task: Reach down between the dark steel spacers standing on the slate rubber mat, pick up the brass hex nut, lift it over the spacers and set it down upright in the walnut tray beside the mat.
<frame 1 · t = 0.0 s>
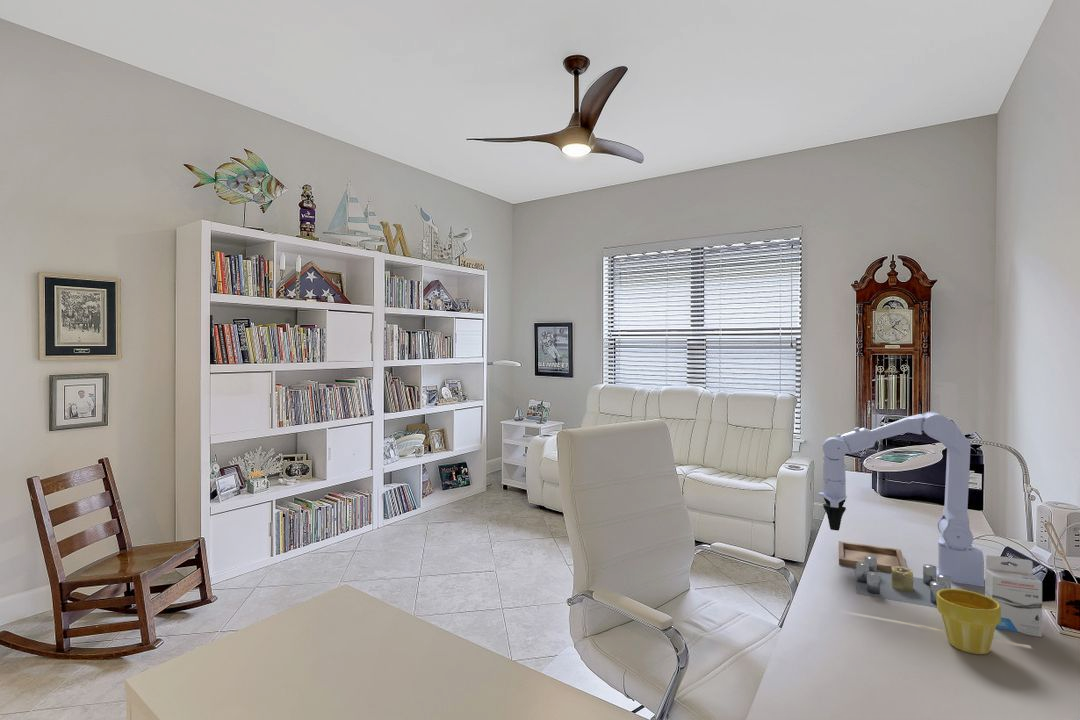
hand: (834, 526, 156), 10 cm above the table, tool pointing down, fingers open, 7 cm apart
mat: (902, 589, 137), on the table
ink box: (1012, 629, 117), on the table
nut: (902, 578, 137), on the mat
spacers: (902, 578, 137), on the mat
tray: (870, 561, 156), on the table
plant pot: (968, 646, 111), on the table
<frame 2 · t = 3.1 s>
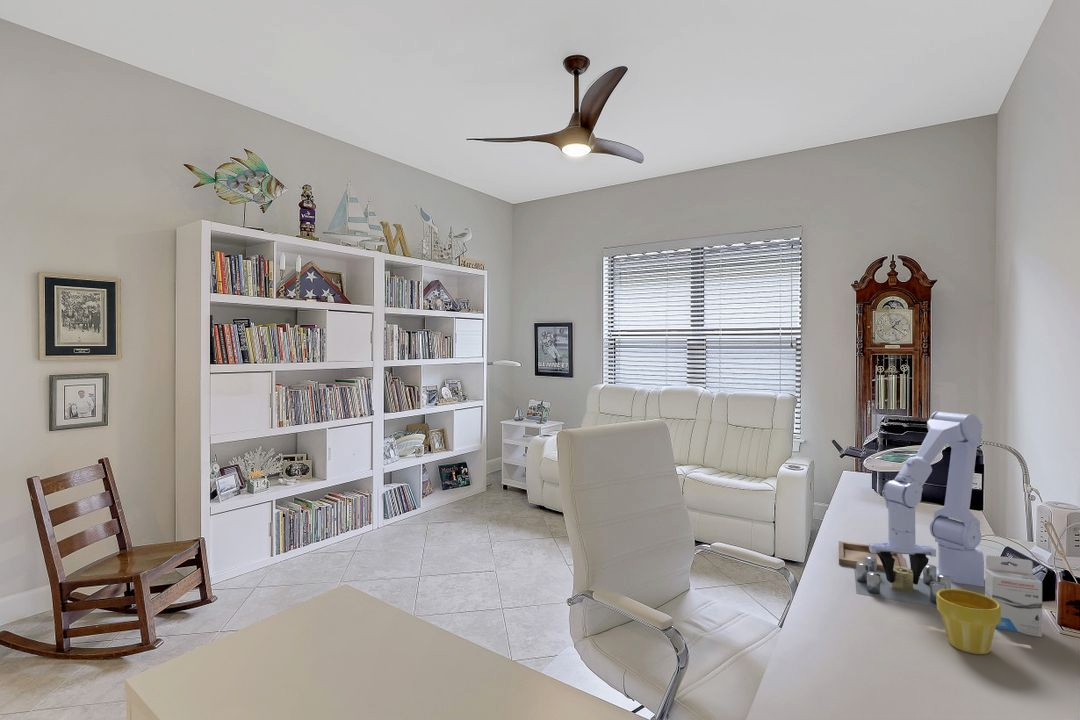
hand: (902, 582, 137), 2 cm above the table, tool pointing down, fingers closed on nut, 5 cm apart
nut: (902, 578, 137), on the mat, touching gripper
everything else where it was.
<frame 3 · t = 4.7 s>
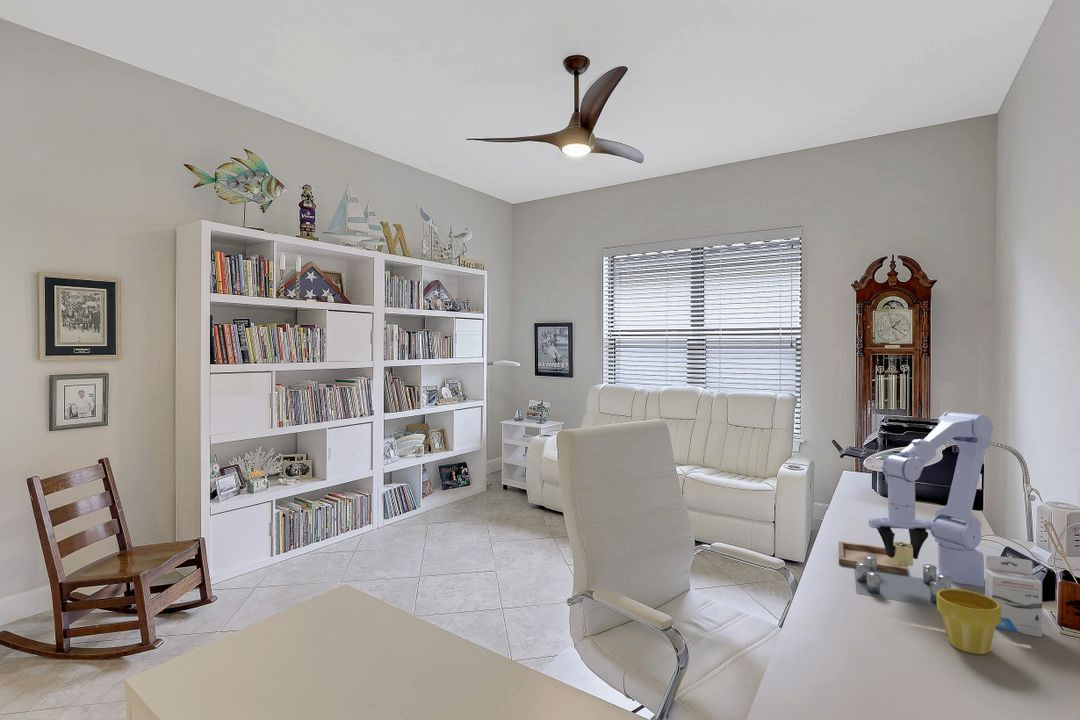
hand: (901, 556, 137), 8 cm above the table, tool pointing down, fingers closed on nut, 5 cm apart
nut: (901, 553, 137), point 9 cm above the table, touching gripper
everything else where it was.
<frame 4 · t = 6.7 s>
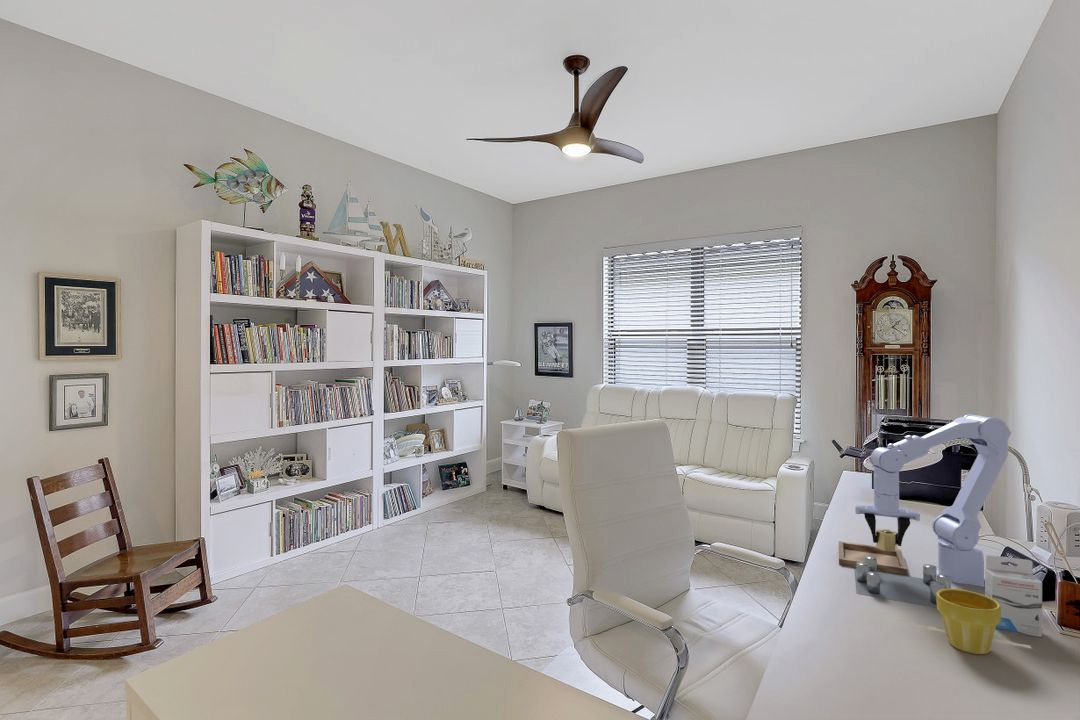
hand: (886, 543, 145), 9 cm above the table, tool pointing down, fingers closed on nut, 5 cm apart
nut: (886, 540, 145), point 10 cm above the table, touching gripper
everything else where it was.
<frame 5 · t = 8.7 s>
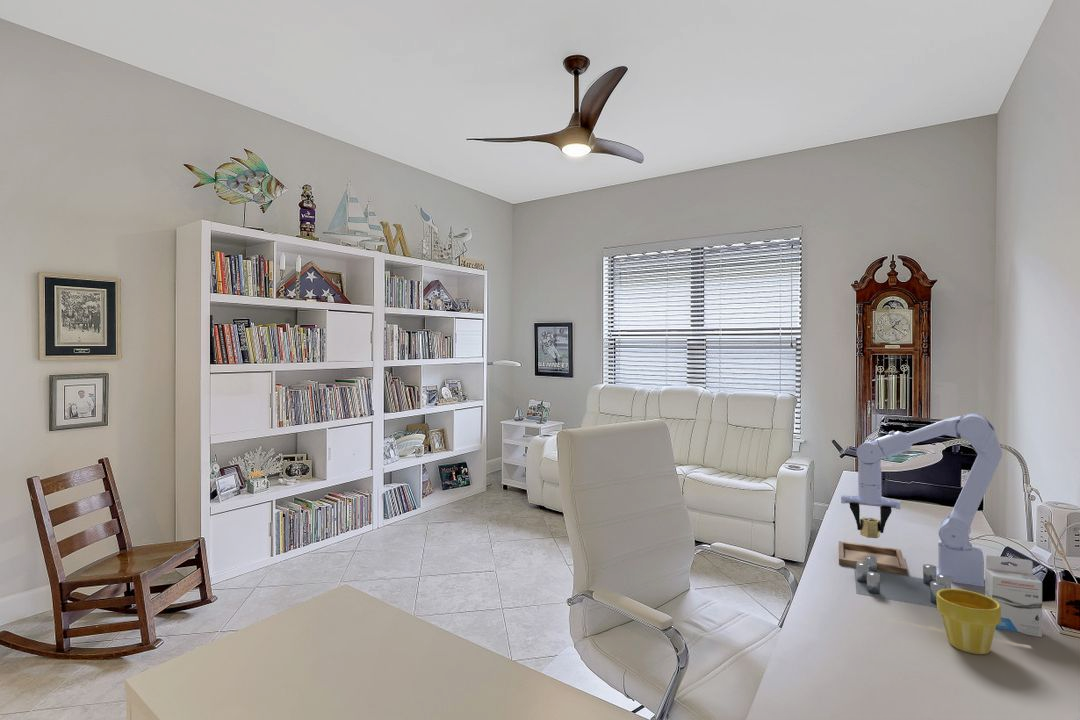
hand: (870, 530, 155), 9 cm above the table, tool pointing down, fingers closed on nut, 5 cm apart
nut: (870, 527, 155), point 10 cm above the table, touching gripper
everything else where it was.
when the fingers open (4 cm above the table, at t = 10.4 s): nut drops 2 cm, resting on tray.
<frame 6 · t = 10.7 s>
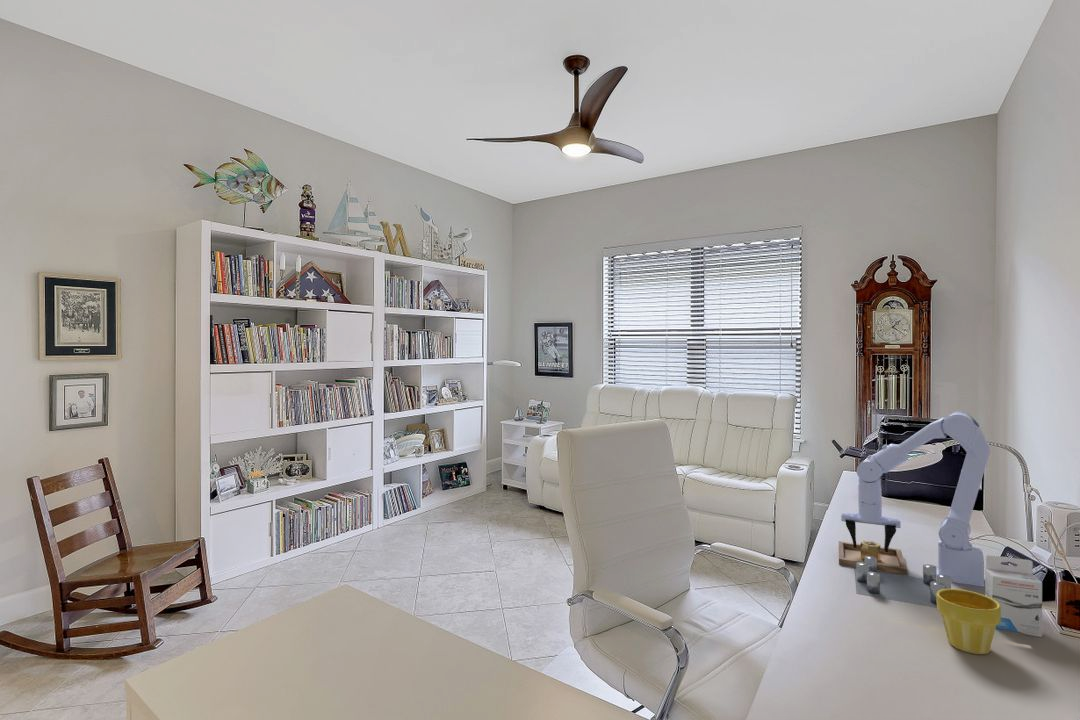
hand: (870, 548, 156), 4 cm above the table, tool pointing down, fingers open, 7 cm apart
nut: (870, 551, 156), in the tray, point 3 cm above the table
everything else where it was.
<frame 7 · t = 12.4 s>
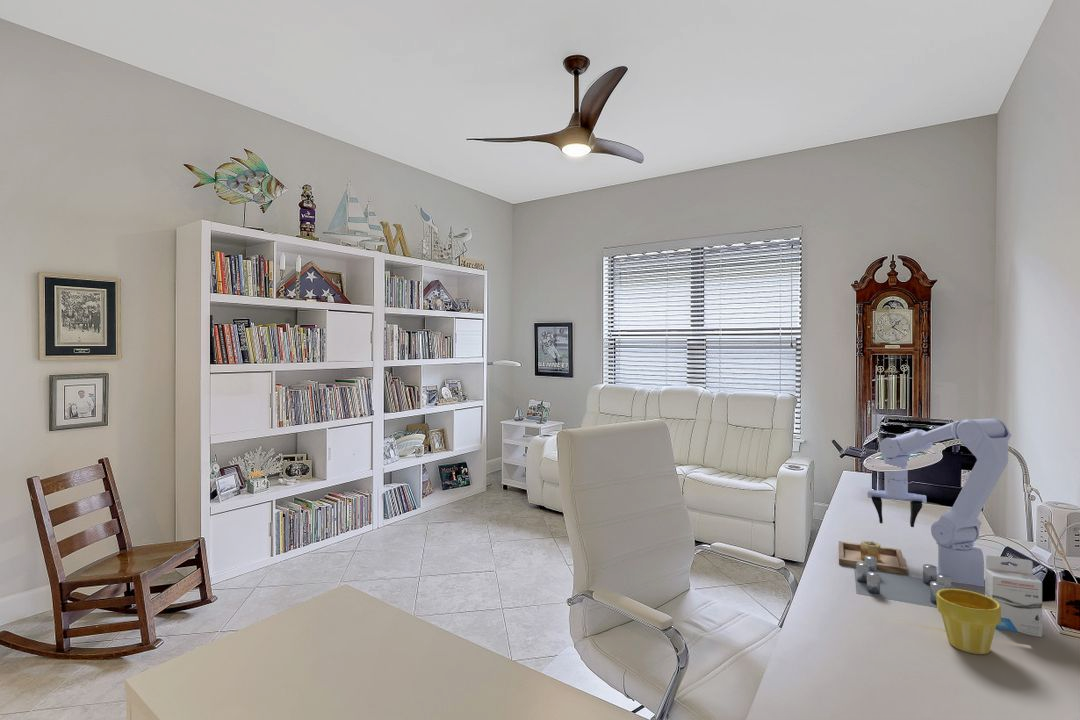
hand: (896, 524, 159), 9 cm above the table, tool pointing down, fingers open, 7 cm apart
nothing on the table moved.
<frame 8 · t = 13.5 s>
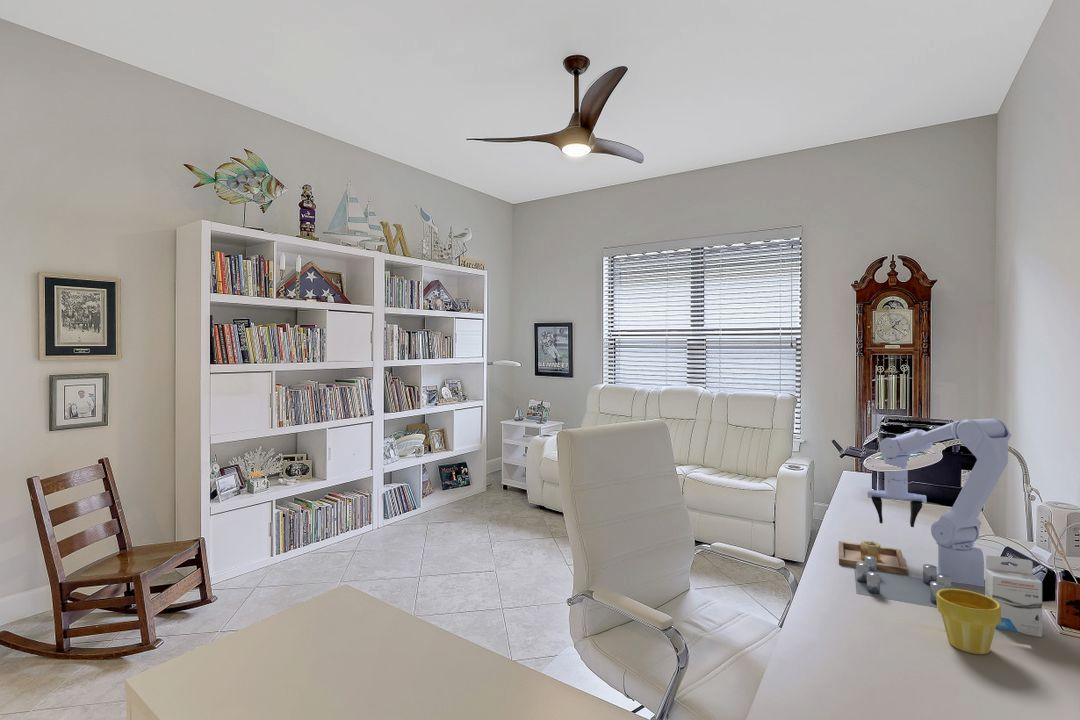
hand: (896, 524, 159), 9 cm above the table, tool pointing down, fingers open, 7 cm apart
nothing on the table moved.
at the end: nut inside the target area on the tray (0.0 cm from its centre), point 2.9 cm above the tray's base; nut tilted 0°; the gripper is holding nothing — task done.
